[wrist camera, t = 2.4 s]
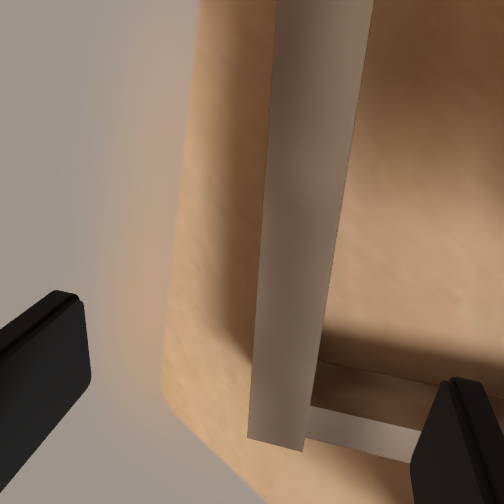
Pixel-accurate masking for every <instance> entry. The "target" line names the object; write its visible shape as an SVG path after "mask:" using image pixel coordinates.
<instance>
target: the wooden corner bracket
mask: <svg viewBox="0 0 504 504" xmlns="http://www.w3.org/2000/svg"><path fill="white" fill-rule="evenodd" d="M373 4H374V0H277V12H276V26H275V41H274V55H273V70H272V84H271V99H270V113H269V128H268V142H267V157H266V171H265V186H264V200H263V215H262V229H261V244H260V258H259V273H258V287H257V302H256V316H255V331H254V345H253V360H252V374H251V389H250V403H249V418H248V432H247V438H250V439H254V440H258V441H262V442H266V443H270V444H273V445H277V446H281V447H285V448H289V449H293V450H297V451H301V452H303V446H304V440H305V438H309V439H314V440H318V441H322V442H326V443H330V444H334V445H338V446H342V447H346V448H350V449H354V450H358V451H362V452H366V453H370V454H374V455H378V456H382V457H386V458H390V459H394V460H398V461H402V462H406V463H410V462H411V457H412V454H413V452H414V449H415V447H416V444H417V442H418V439H419V437H420V434H421V432H422V429H423V427H424V424H425V422H426V419H427V417H428V414H429V411H430V409H431V406H432V404H433V401H434V399H435V396H436V394H437V391H438V389H439V386H436V385H432V384H427V383H422V382H417V381H412V380H408V379H403V378H398V377H393V376H388V375H384V374H379V373H374V372H369V371H364V370H360V369H355V368H350V367H345V366H340V365H336V364H331V363H326V362H321V361H317V358H318V352H319V346H320V339H321V333H322V327H323V320H324V314H325V308H326V301H327V295H328V289H329V282H330V276H331V270H332V263H333V257H334V251H335V244H336V238H337V232H338V225H339V219H340V213H341V206H342V200H343V194H344V187H345V181H346V175H347V168H348V162H349V156H350V149H351V143H352V137H353V130H354V124H355V118H356V111H357V105H358V99H359V92H360V86H361V80H362V73H363V67H364V61H365V54H366V48H367V42H368V35H369V29H370V23H371V16H372V10H373ZM487 397H488V399H489V402H490V404H491V406H492V409H493V411H494V413H495V416H496V418H497V421H498V423H499V425H500V428H501V430H502V432H503V435H504V399H499V398H494V397H489V396H487Z"/></svg>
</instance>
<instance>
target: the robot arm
mask: <svg viewBox="0 0 504 504" xmlns="http://www.w3.org/2000/svg"><path fill="white" fill-rule="evenodd" d="M90 381H91V367H90V358H89V350H88V340H87V331H86V321H85V312H84V305H83V302H82V301H80V300H79V297H78V296H77V295H76V294H73V293H68V292H63V291H59V290H54V291H52V292H51V293H49V294H48V295H46V296H45V297H44V298H42V299H41V300H40V301H38V302H37V303H36V304H34V305H33V306H32V307H30V308H29V309H27V310H26V311H25V312H24V313H22V314H21V315H19V316H18V317H17V318H15V319H14V320H13V321H11V322H10V323H8V324H7V325H6V326H4V327H3V328H2V329H0V493H1V491H2V490H3V489H4V488H5V487H6V485H7V484H8V483H9V482H10V481H11V479H12V478H13V477H14V476H15V475H16V473H17V472H18V471H19V470H20V469H21V467H22V466H23V465H24V464H25V463H26V461H27V460H28V459H29V458H30V457H31V455H32V454H33V453H34V452H35V451H36V449H37V448H38V447H39V446H40V445H41V443H42V442H43V441H44V440H45V439H46V437H47V436H48V435H49V433H51V431H52V430H53V429H54V428H55V426H56V425H57V424H58V423H59V422H60V420H61V419H62V418H63V417H64V416H65V415H66V413H67V412H68V411H69V410H70V408H71V407H72V406H73V405H74V404H75V402H76V401H77V400H78V399H79V398H80V396H81V395H82V394H83V393H84V392H85V390H86V389H87V388H88V386H89V384H90ZM410 475H411V481H412V488H413V495H414V501H415V504H504V435H503V432H502V430H501V428H500V425H499V423H498V421H497V418H496V416H495V413H494V411H493V409H492V406H491V404H490V402H489V399H488V397H487V395H486V392H485V390H484V387H483V386H482V384H481V383H480V382H477V381H473V380H468V379H463V378H459V377H452V378H451V379H450V380H449V382H448V381H442V382H441V384H440V386H439V389H438V391H437V394H436V396H435V399H434V401H433V404H432V406H431V409H430V411H429V414H428V417H427V419H426V422H425V424H424V427H423V429H422V432H421V434H420V437H419V439H418V442H417V444H416V447H415V449H414V452H413V454H412V457H411V462H410Z"/></svg>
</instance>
